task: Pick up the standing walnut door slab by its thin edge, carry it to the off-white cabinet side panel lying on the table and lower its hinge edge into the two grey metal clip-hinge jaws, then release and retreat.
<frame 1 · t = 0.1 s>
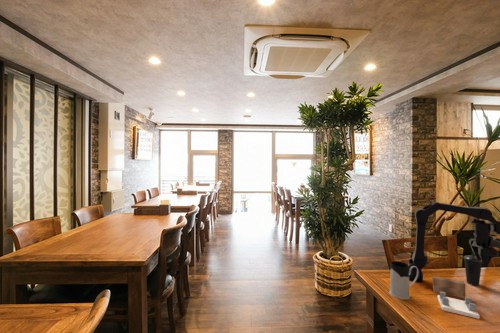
hand: (482, 263, 118), 15 cm above the table, fingers open, 9 cm apart
side panel: (457, 307, 105), on the table
drinking cup: (472, 283, 127), on the table
door: (448, 293, 117), on the table
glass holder: (404, 294, 116), on the table
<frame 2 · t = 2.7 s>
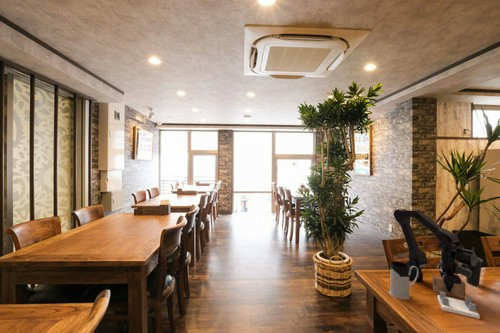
hand: (448, 289, 117), 2 cm above the table, fingers closed on door, 3 cm apart
door: (448, 293, 117), on the table, touching gripper
everything else where it was.
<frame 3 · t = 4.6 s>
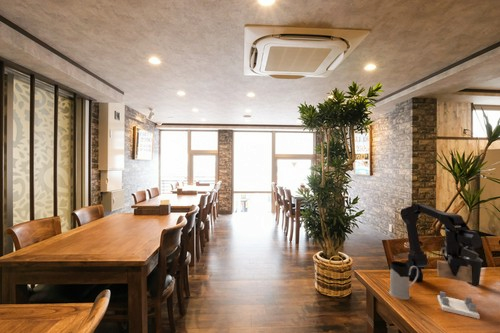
hand: (453, 274, 110), 12 cm above the table, fingers closed on door, 3 cm apart
door: (453, 278, 110), point 11 cm above the table, touching gripper
everything else where it was.
when the fingers open (5 cm above the table, at t = 6.3 s): door drops 1 cm, resting on side panel.
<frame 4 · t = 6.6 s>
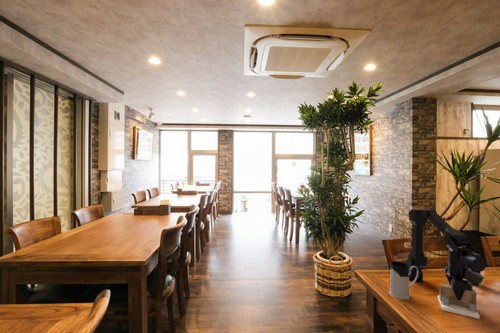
hand: (456, 296, 105), 5 cm above the table, fingers open, 6 cm apart
door: (457, 303, 105), point 2 cm above the table, touching side panel
everything else where it was.
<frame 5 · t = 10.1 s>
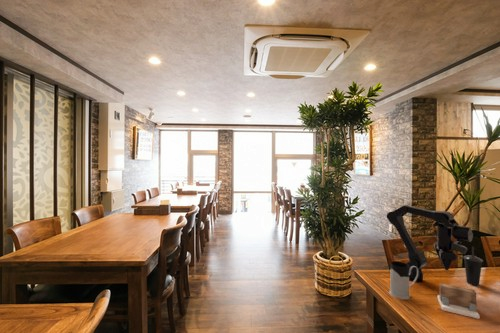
hand: (444, 266, 120), 12 cm above the table, fingers open, 9 cm apart
nothing on the table moved.
at the end: door 0.1 cm off-centre on the side panel, point 1.9 cm above the side panel's base; door tilted 0°; the gripper is holding nothing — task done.
